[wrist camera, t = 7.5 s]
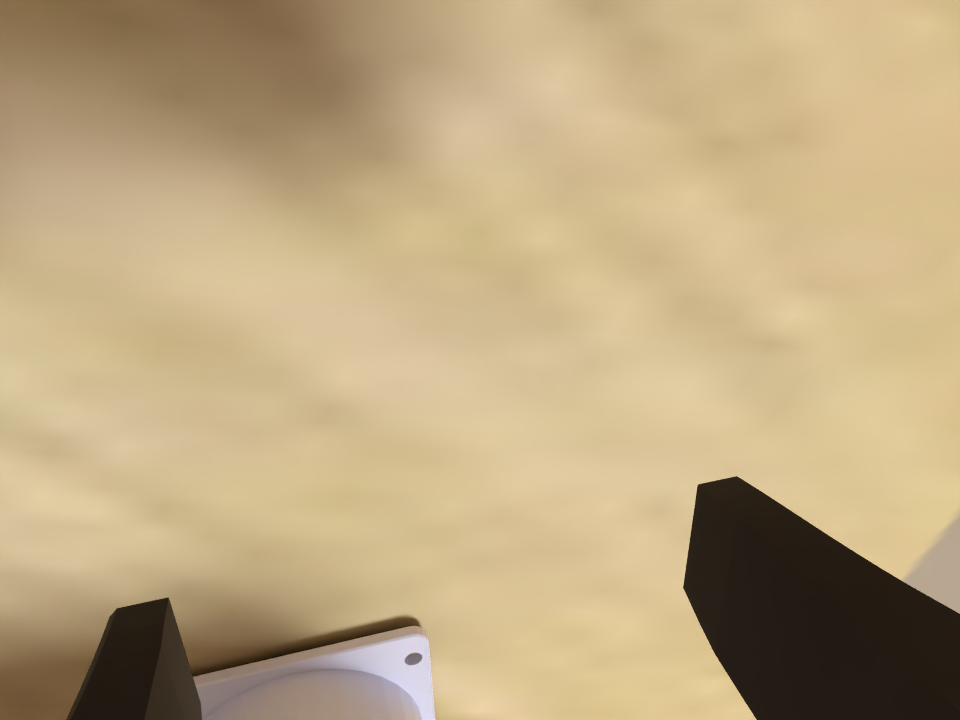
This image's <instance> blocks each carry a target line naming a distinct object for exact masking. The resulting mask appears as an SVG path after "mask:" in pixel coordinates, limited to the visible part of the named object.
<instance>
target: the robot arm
mask: <svg viewBox="0 0 960 720" xmlns="http://www.w3.org/2000/svg"><path fill="white" fill-rule="evenodd" d="M683 588H684V590H685V592H686V595H687V597H688V599H689V601H690V603H691V605H692V608H693V610H694V612H695V614H696V616H697V618H698V621H699V623H700V625H701V627H702V629H703V631H704V633H705V635H706V637H707V639H708V641H709V643H710V645H711V647H712V649H713V651H714V653H715V655H716V656H717V658H718V659H719V661H720V663H721V664H722V666H723V667H724V669H725V671H726V672H727V674H728V675H729V677H730V679H731V680H732V682H733V683H734V685H735V686H736V688H737V690H738V691H739V693H740V694H741V696H742V697H743V699H744V701H745V702H746V704H747V705H748V707H749V708H750V710H751V711H752V713H753V715H754V716H755V718H756V719H757V720H960V614H959V613H957V612H955V611H954V610H952V609H950V608H948V607H947V606H945V605H943V604H941V603H939V602H938V601H936V600H934V599H932V598H931V597H929V596H927V595H925V594H923V593H921V592H920V591H918V590H916V589H915V588H913V587H911V586H909V585H908V584H906V583H904V582H903V581H901V580H899V579H898V578H896V577H894V576H893V575H891V574H889V573H888V572H886V571H884V570H883V569H881V568H879V567H878V566H876V565H874V564H873V563H871V562H870V561H868V560H866V559H865V558H863V557H862V556H860V555H858V554H857V553H855V552H854V551H852V550H850V549H849V548H847V547H846V546H844V545H843V544H841V543H839V542H838V541H836V540H835V539H833V538H832V537H830V536H828V535H827V534H825V533H824V532H822V531H821V530H819V529H818V528H816V527H815V526H813V525H812V524H810V523H809V522H807V521H805V520H804V519H802V518H801V517H799V516H798V515H796V514H795V513H793V512H792V511H790V510H789V509H787V508H786V507H784V506H783V505H781V504H779V503H778V502H776V501H775V500H773V499H772V498H770V497H769V496H767V495H766V494H764V493H763V492H761V491H759V490H758V489H756V488H755V487H753V486H752V485H750V484H748V483H747V482H745V481H743V480H742V479H740V478H739V477H737V476H736V477H731V478H727V479H722V480H717V481H713V482H708V483H703V484H699V485H698V487H697V494H696V501H695V508H694V516H693V523H692V530H691V537H690V544H689V551H688V558H687V565H686V572H685V579H684V586H683ZM411 653H414V654H411ZM409 654H411V655H409ZM66 720H435V711H434V699H433V687H432V675H431V663H430V650H429V641H428V638H427V634H426V632H425V630H424V629H423V628H421V627H418V626H408V627H404V628H400V629H396V630H391V631H387V632H383V633H378V634H374V635H370V636H366V637H361V638H357V639H353V640H348V641H344V642H340V643H336V644H331V645H327V646H323V647H318V648H314V649H310V650H306V651H301V652H297V653H293V654H289V655H284V656H280V657H276V658H271V659H267V660H263V661H259V662H254V663H250V664H246V665H241V666H237V667H233V668H229V669H224V670H220V671H216V672H211V673H207V674H203V675H199V676H194V677H193V676H192V672H191V669H190V666H189V662H188V659H187V656H186V653H185V649H184V646H183V643H182V640H181V636H180V633H179V630H178V626H177V623H176V620H175V617H174V613H173V610H172V607H171V604H170V600H169V598H164V599H159V600H154V601H150V602H145V603H140V604H136V605H131V606H126V607H122V608H117V609H116V610H115V611H114V613H113V614H112V615H111V616H110V617H109V620H108V623H107V625H106V628H105V631H104V633H103V636H102V639H101V641H100V644H99V646H98V649H97V651H96V654H95V656H94V658H93V661H92V663H91V666H90V668H89V670H88V673H87V675H86V677H85V680H84V682H83V684H82V686H81V689H80V691H79V693H78V695H77V697H76V700H75V702H74V704H73V706H72V709H71V711H70V713H69V715H68V717H67V719H66Z"/></svg>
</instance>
